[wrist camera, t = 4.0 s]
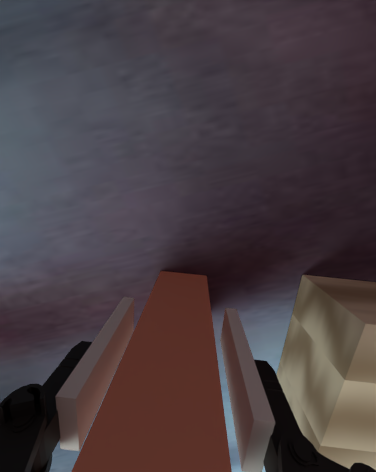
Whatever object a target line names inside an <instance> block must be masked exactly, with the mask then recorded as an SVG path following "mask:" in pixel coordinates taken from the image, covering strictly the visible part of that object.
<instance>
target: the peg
mask: <svg viewBox="0 0 376 472" xmlns="http://www.w3.org/2000/svg"><path fill="white" fill-rule="evenodd" d="M72 472H231V464H230V456H229V448H228V440H227V432H226V424H225V416H224V409H223V401H222V393H221V385H220V377H219V369H218V361H217V353H216V345H215V338H214V330H213V322H212V314H211V306H210V298H209V290H208V282H207V276H205V275H196V274H186V273H177V272H167V271H161V272H160V274H159V276H158V278H157V281H156V283H155V285H154V287H153V290H152V292H151V294H150V296H149V299H148V301H147V303H146V305H145V308H144V310H143V312H142V314H141V317H140V319H139V321H138V323H137V326H136V328H135V330H134V332H133V335H132V337H131V339H130V341H129V344H128V346H127V348H126V350H125V353H124V355H123V357H122V359H121V362H120V364H119V366H118V368H117V371H116V373H115V375H114V377H113V380H112V382H111V384H110V386H109V389H108V391H107V393H106V395H105V398H104V400H103V402H102V404H101V407H100V409H99V411H98V413H97V416H96V418H95V420H94V422H93V425H92V427H91V429H90V431H89V434H88V436H87V438H86V440H85V443H84V445H83V447H82V449H81V452H80V454H79V456H78V458H77V461H76V463H75V465H74V468H73V470H72Z"/></svg>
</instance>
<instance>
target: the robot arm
mask: <svg viewBox="0 0 376 472" xmlns="http://www.w3.org/2000/svg"><path fill="white" fill-rule="evenodd" d="M133 327H134V298H129V297H123V299H122V300H121V302H120V303H119V305H118V306H117V307H116V309H115V310H114V312H113V313H112V315H111V316H110V318H109V319H108V321H107V322H106V323H105V325H104V326H103V328H102V329H101V331H100V332H99V334H98V335H97V337H96V338H95V339H94V341H93V342H85V341H81V342H80V343H79V344H77V345H76V346H75V347H73V348H72V349H71V350H70V352H69V353H68V354H67V355H66V357H65V359H63V361H62V362H61V363H60V364H59V366H58V367H57V368H56V369H55V371H54V372H53V373H52V374H51V376H50V377H49V378H48V380H47V381H46V382H45V383H44V385H43V386H41V385H39V384H29V385H26V386H23V387H21V388H19V389H17V390H15V391H14V392H12V393H11V394H10V395H9V396H7V397H6V398H5V399H4V400H3V401H2V402H1V404H0V472H49V470H50V466H51V462H52V452H53V450H54V448H55V447H56V445H57V443H58V441H59V439H60V448H61V449H67V450H75V451H80V448H81V446H82V444H83V442H84V439H85V437H86V435H87V433H88V431H89V428H90V426H91V424H92V422H93V419H94V417H95V415H96V413H97V411H98V408H99V406H100V404H101V402H102V399H103V397H104V395H105V393H106V391H107V388H108V386H109V384H110V382H111V379H112V377H113V375H114V373H115V371H116V368H117V366H118V364H119V362H120V359H121V357H122V355H123V353H124V351H125V348H126V346H127V344H128V342H129V339H130V337H131V335H132V333H133ZM220 341H221V347H222V353H223V359H224V365H225V372H226V378H227V384H228V390H229V396H230V402H231V408H232V414H233V420H234V426H235V433H236V439H237V445H238V451H239V457H240V463H241V469H242V471H245V472H262V469H263V465H264V466H265V470H266V472H376V470H375V469H373V468H372V467H370V466H368V465H366V464H363V463H354V464H353V465H352V466H351V467H350V469H348V468H346V467H344V466H342V465H340V464H338V463H336V462H334V461H332V460H330V459H328V458H327V457H325V456H323V455H322V454H320V453H319V452H318V451H317V450H316V448H315V447H314V445H313V444H312V443H311V442H310V441H309V440H308V439H307V438H306V437H305V436H303V434H302V432H301V430H300V428H299V426H298V424H297V421H296V419H295V417H294V414H293V412H292V410H291V408H290V405H289V403H288V401H287V399H286V396H285V394H284V392H283V389H282V387H281V385H280V383H279V380H278V378H277V376H276V373H275V371H274V370H273V368H272V367H271V366H270V365H269V364H268V362H267V361H261V360H254V359H253V356H252V353H251V350H250V347H249V344H248V341H247V338H246V335H245V333H244V330H243V327H242V324H241V321H240V318H239V315H238V312H237V309H232V308H225V315H224V321H223V327H222V333H221V340H220Z"/></svg>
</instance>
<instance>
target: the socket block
mask: <svg viewBox="0 0 376 472" xmlns="http://www.w3.org/2000/svg"><path fill="white" fill-rule="evenodd" d="M276 376H277V378H278V380H279V383H280V385H281V387H282V389H283V392H284V394H285V396H286V399H287V401H288V403H289V405H290V408H291V410H292V412H293V414H294V417H295V419H296V421H297V424H298V426H299V428H300V430H301V432H302V434H303V436H305V437H306V438H307V439H308V440H309V441H310V442H311V443H312V444H313V445H314V447H315V448H316V450H317V451H318V452H319V453H320V454H322V455H323V456H325V457H327V458H328V459H330V460H332V461H334V462H336V463H338V464H340V465H342V466H344V467H346V468H348V469H350V467H351V466H352V465H353V464H354V463H363V464H366V465H368V466H370V467H372V468H373V469H375V470H376V282H369V281H359V280H350V279H340V278H330V277H320V276H311V275H302V278H301V282H300V286H299V290H298V294H297V298H296V302H295V306H294V309H293V313H292V317H291V321H290V325H289V329H288V333H287V337H286V340H285V344H284V348H283V352H282V356H281V360H280V364H279V368H278V372H277V375H276Z"/></svg>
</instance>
